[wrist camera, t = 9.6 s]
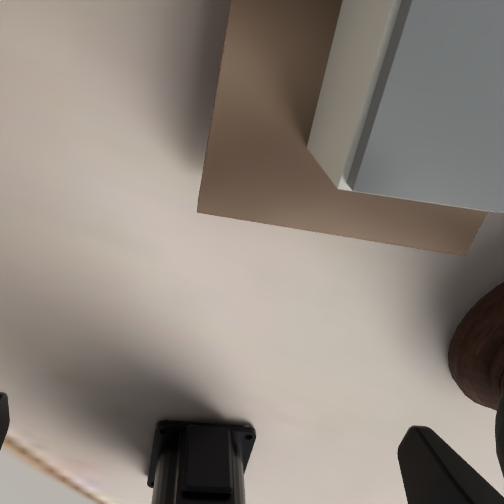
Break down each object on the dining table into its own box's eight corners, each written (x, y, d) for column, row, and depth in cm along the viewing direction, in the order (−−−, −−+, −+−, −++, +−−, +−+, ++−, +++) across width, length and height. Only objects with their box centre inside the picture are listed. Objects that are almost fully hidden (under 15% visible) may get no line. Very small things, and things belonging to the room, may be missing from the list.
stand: (433, 227, 21) (464, 256, 18) (199, 186, 19) (196, 212, 16) (633, -203, 14) (732, -255, 11) (285, -347, 12) (307, -454, 9)
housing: (386, -177, 11) (495, -303, 7) (545, -129, 12) (732, -214, 8) (306, 147, 15) (343, 197, 11) (428, 167, 16) (507, 220, 12)
